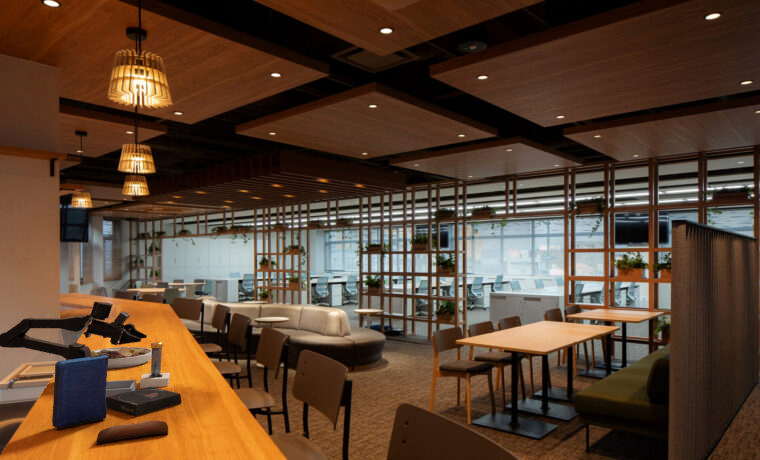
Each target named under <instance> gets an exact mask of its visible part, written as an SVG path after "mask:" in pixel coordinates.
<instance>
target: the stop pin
mask: <svg viewBox="0 0 760 460" xmlns="http://www.w3.org/2000/svg"><path fill="white" fill-rule="evenodd" d="M163 348H164V343H163V342H160V341H158V342H156V341H155V342H151V343H150V349H151V350H152V357H151V359H150V360H151V361H150V362H151V363H150V374H151V378H158V377H160V376H161V373H162V372H161V371H162V354H163V353H162V351H163Z"/></svg>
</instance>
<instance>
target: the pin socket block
mask: <svg viewBox="0 0 760 460" xmlns="http://www.w3.org/2000/svg"><path fill="white" fill-rule="evenodd" d="M170 376H171V373H170V372H161V376H160V377H158V378H151V373H142V375H141V378H140V381H139V388H140V389H143V388H147V387H154V388H158V387H168V386H169V385H170V379H171V377H170Z"/></svg>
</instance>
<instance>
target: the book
mask: <svg viewBox="0 0 760 460" xmlns="http://www.w3.org/2000/svg"><path fill="white" fill-rule="evenodd" d="M107 368H108V356H106V355H104V354H102V355H98V356H94V357H86V358H79V359H72V360H66V359H65V360H57V361H56V363H55V364H54V382H53V383H54V385H53V402H52V415H51V422H52V427H54V428H55V429H58V430H59V429H66V428H70V427H75V426H80V425H85V424H88V423H93V422H97V421H101V420H105V419H106V418H107V414H108V408H107V403H106V400H105V397H106V384H107V383H106V382H107V381H108V380H107V378H108V369H107Z"/></svg>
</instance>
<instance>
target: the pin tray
mask: <svg viewBox="0 0 760 460" xmlns="http://www.w3.org/2000/svg"><path fill="white" fill-rule="evenodd" d="M106 383H107V384H106V397H108V396H113V395H117V394H121V393H126V392H130V391H134V390H137V379H125V380H124V379H123V380H122V379H121V380H109V381H108V380H107V382H106ZM106 397H105V400H106Z"/></svg>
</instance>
